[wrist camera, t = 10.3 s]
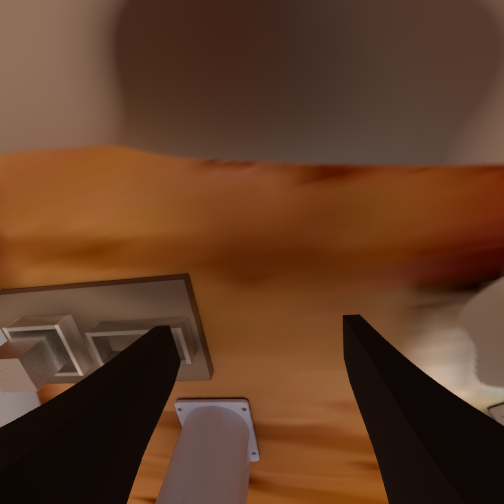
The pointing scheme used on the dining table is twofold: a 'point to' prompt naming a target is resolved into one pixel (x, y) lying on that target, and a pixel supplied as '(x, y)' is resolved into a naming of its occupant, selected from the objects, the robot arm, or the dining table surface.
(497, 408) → the medicine box
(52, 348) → the square peg
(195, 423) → the robot arm
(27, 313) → the socket board
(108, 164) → the dining table surface
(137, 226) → the dining table surface
